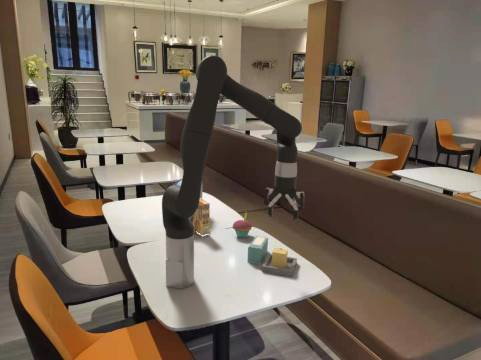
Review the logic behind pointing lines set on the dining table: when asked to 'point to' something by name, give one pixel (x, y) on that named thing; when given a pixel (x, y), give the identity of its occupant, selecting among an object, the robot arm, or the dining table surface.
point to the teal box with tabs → (257, 249)
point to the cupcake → (242, 227)
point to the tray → (287, 271)
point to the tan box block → (279, 258)
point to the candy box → (202, 218)
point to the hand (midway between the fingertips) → (282, 217)
